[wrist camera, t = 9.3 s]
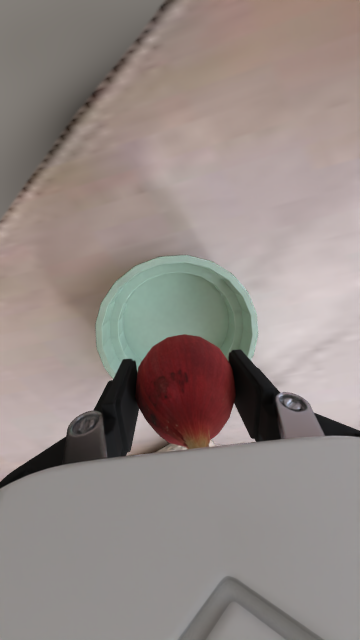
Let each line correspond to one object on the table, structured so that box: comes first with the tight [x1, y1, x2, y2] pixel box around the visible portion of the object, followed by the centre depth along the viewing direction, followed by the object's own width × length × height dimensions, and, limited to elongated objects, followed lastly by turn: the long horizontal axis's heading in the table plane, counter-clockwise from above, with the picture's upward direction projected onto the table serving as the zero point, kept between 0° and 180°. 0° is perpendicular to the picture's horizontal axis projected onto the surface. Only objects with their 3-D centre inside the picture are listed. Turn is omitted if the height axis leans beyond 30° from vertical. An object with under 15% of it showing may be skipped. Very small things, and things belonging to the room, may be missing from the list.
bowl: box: [95, 255, 258, 379], centre depth 19 cm, size 15×15×5 cm
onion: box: [135, 334, 236, 449], centre depth 11 cm, size 6×6×8 cm
